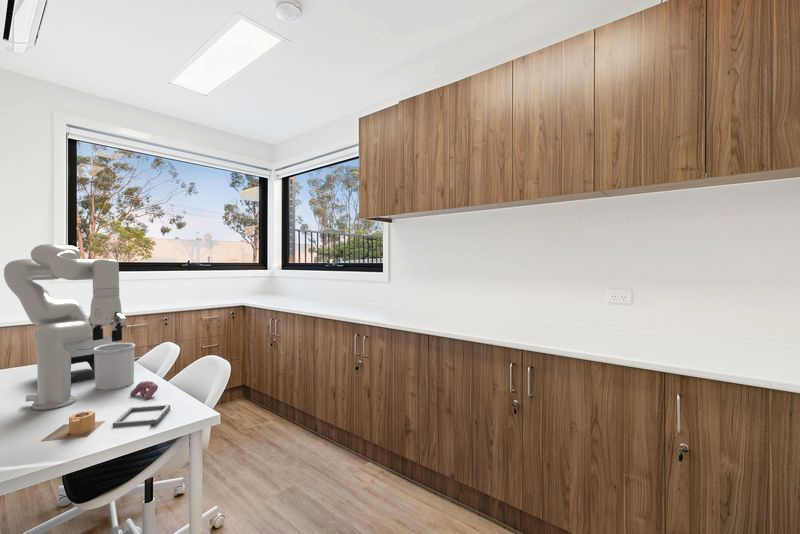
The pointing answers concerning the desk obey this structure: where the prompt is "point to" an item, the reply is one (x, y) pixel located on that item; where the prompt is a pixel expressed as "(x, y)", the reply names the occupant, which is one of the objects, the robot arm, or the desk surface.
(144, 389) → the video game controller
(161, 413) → the tray
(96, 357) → the utensil holder
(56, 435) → the base
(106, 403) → the desk surface
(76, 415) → the collar
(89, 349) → the portable electronic device stand
